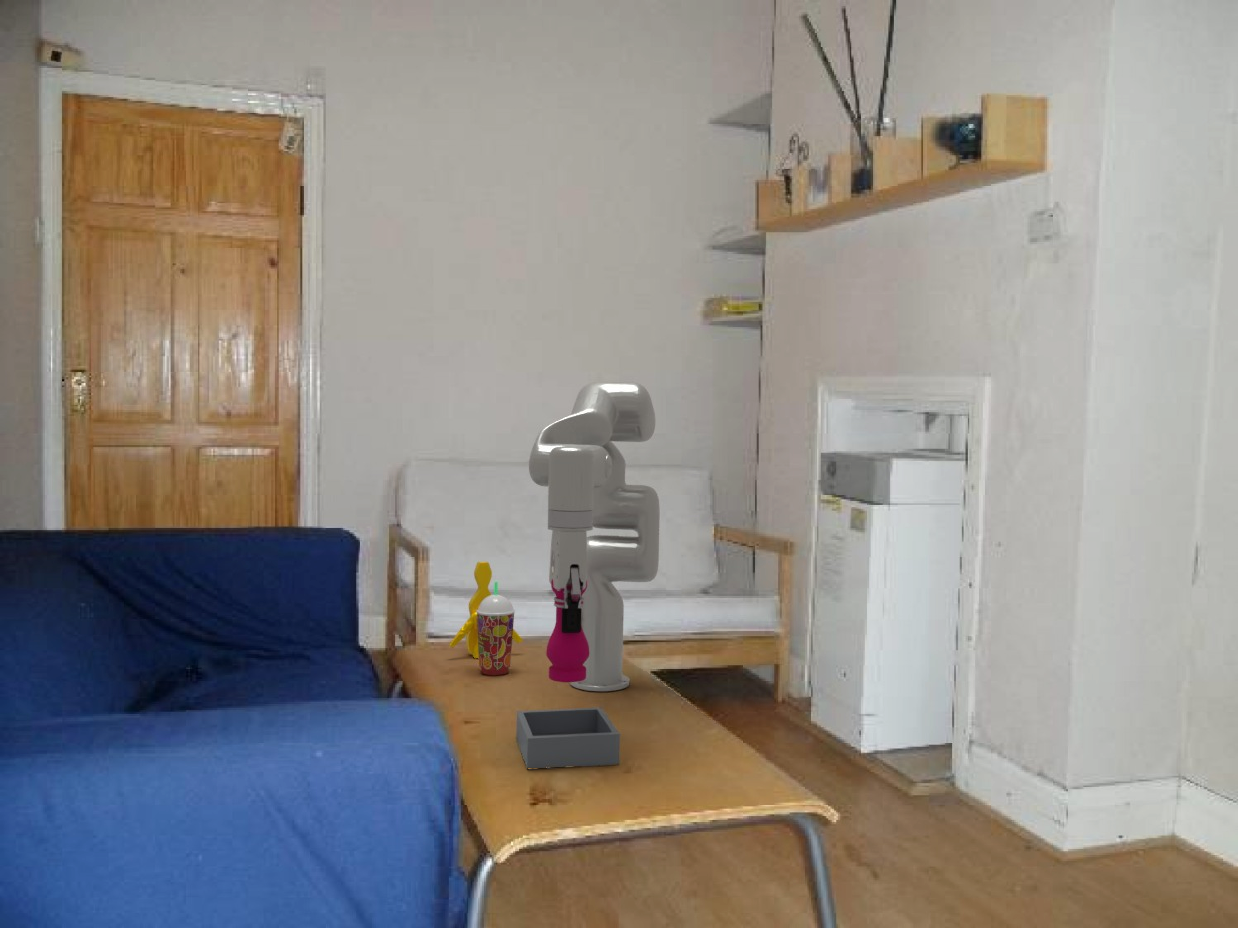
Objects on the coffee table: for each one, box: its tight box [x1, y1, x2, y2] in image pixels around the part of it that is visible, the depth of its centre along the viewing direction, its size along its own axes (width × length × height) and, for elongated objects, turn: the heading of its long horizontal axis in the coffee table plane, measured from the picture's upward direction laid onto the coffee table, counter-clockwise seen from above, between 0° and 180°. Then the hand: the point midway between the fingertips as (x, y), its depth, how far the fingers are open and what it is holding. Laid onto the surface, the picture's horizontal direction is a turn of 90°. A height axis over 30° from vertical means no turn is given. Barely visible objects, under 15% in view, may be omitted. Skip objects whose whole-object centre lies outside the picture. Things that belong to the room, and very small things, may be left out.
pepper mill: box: [545, 579, 590, 683], centre depth 164 cm, size 7×7×20 cm
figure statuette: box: [448, 561, 524, 659], centre depth 231 cm, size 18×8×22 cm, turn 113°
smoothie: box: [476, 581, 516, 676], centre depth 215 cm, size 8×8×20 cm
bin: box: [515, 707, 621, 769], centre depth 164 cm, size 15×15×5 cm
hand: (568, 627), depth 164 cm, fingers closed on pepper mill, 5 cm apart
